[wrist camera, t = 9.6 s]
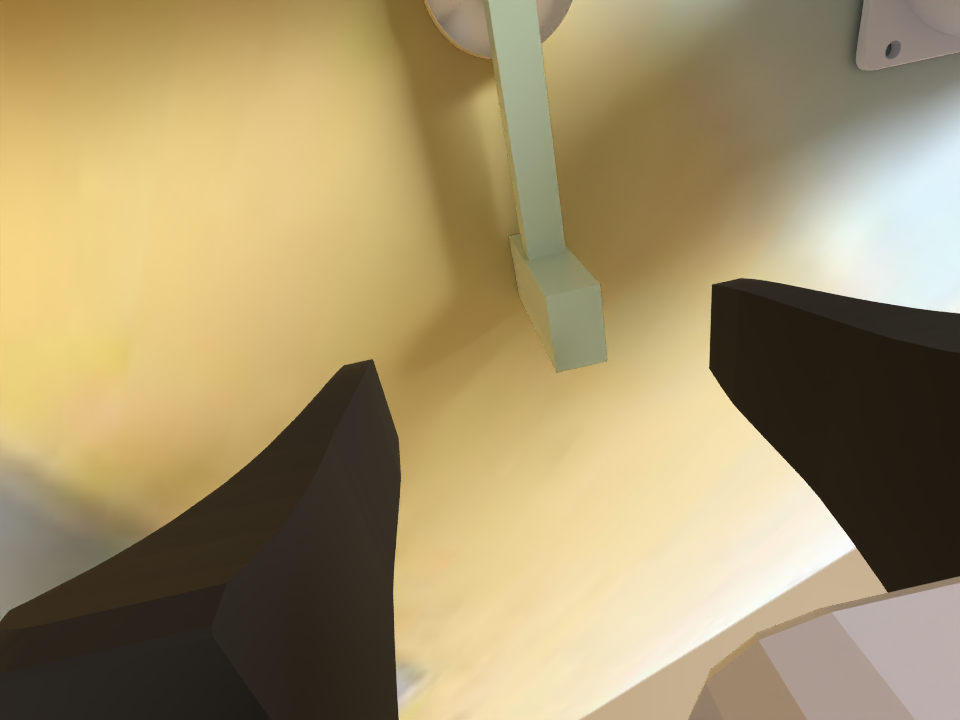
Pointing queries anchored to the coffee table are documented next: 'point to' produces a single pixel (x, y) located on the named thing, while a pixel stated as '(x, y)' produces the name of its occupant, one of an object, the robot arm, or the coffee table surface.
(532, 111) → the pale green mallet
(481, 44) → the steel puck
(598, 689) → the coffee table surface
